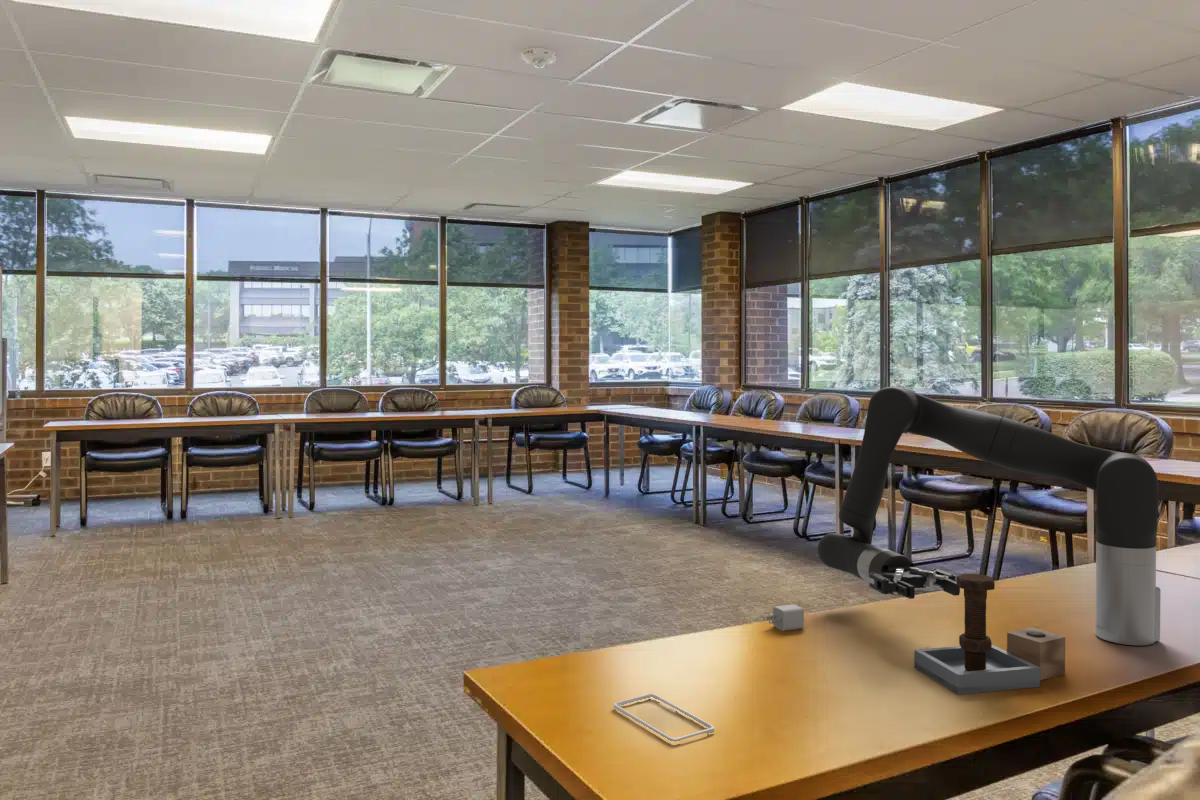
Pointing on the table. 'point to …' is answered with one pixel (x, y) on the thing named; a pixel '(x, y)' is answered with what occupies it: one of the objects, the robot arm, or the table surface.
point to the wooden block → (1039, 650)
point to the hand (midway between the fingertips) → (935, 591)
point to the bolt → (975, 619)
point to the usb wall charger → (787, 617)
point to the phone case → (617, 706)
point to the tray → (997, 676)
